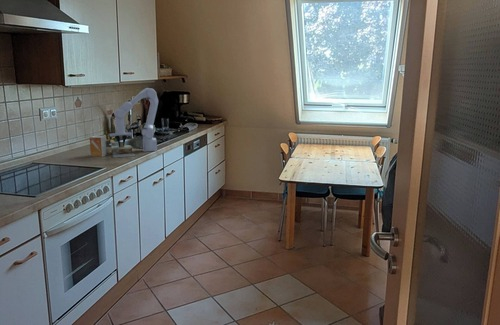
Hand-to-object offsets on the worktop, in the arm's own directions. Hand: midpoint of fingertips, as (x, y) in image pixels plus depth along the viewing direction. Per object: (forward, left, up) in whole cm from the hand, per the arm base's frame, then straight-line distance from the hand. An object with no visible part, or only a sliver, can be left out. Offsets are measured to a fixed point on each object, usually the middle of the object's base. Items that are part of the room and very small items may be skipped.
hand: (121, 146), depth 284 cm
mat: (0, +10, -5) cm, 11 cm away
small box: (+16, +3, -5) cm, 17 cm away
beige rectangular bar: (+4, -13, 0) cm, 14 cm away
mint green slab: (0, 0, -1) cm, 1 cm away
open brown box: (0, 0, -5) cm, 5 cm away
